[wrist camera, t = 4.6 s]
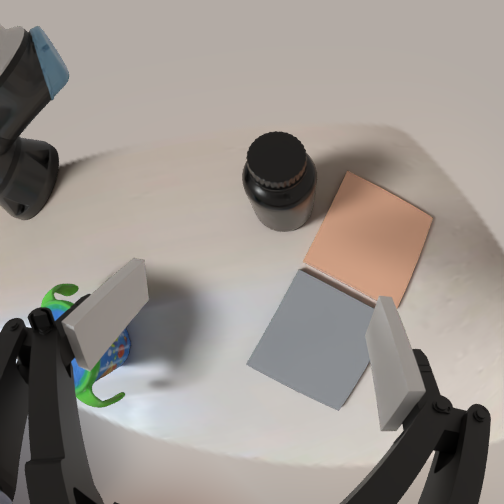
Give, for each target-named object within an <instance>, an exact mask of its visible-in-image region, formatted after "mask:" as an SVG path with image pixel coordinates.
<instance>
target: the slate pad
mask: <svg viewBox="0 0 504 504" xmlns="http://www.w3.org/2000/svg"><path fill="white" fill-rule="evenodd" d="M373 312H374V308H372V307H370V306H368V305H366V304H364V303H362V302H360V301H358V300H357V299H355V298H353V297H351V296H349V295H347V294H345V293H343V292H341V291H339V290H338V289H336V288H334V287H332V286H330V285H328V284H326V283H324V282H322V281H320V280H318V279H317V278H315V277H313V276H311V275H309V274H307V273H305V272H303V271H301V270H298V272H297V274H296V276H295V277H294V279H293V281H292V283H291V285H290V287H289V289H288V291H287V292H286V294H285V296H284V298H283V300H282V302H281V304H280V305H279V307H278V309H277V311H276V313H275V314H274V316H273V318H272V320H271V322H270V323H269V325H268V327H267V329H266V331H265V332H264V334H263V336H262V338H261V339H260V341H259V343H258V345H257V346H256V348H255V350H254V352H253V353H252V355H251V357H250V359H249V360H248V362H247V364H246V365H248V366H250V367H252V368H253V369H255V370H257V371H259V372H261V373H263V374H264V375H266V376H268V377H270V378H272V379H274V380H276V381H278V382H280V383H282V384H284V385H286V386H287V387H289V388H291V389H293V390H295V391H297V392H300V393H302V394H304V395H306V396H308V397H310V398H312V399H314V400H316V401H318V402H320V403H323V404H325V405H327V406H329V407H331V408H334V409H336V410H338V411H339V410H340V408H341V407H342V405H343V404H344V402H345V401H346V399H347V398H348V396H349V394H350V393H351V391H352V390H353V388H354V387H355V385H356V383H357V382H358V380H359V378H360V377H361V375H362V373H363V372H364V370H365V368H366V367H367V365H368V363H369V361H370V358H369V353H368V348H367V343H366V338H365V334H366V332H367V329H368V326H369V323H370V321H371V318H372V315H373Z"/></svg>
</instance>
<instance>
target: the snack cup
mask: <svg viewBox="0 0 504 504" xmlns="http://www.w3.org/2000/svg"><path fill="white" fill-rule="evenodd" d="M77 291H78V286H76V285H74V284H60V285H57V286H55V287H53V288H52V289H51V290H50V291H49V292H48V293H47V294H46V295H45V297H44V298H43V300H42V304H41V307H47V308H49V309H50V310H51V311H52V314H53V317H54V320H55V321H56V320H57V319H58V318H59V317H60V316H61V315H62V314H63V313H64V312H65V311H66V310H68V309H70V307H71V306H72V305H73V303H71V302H69V301H64V300H56V299H55V297H54V293H55V292H56V293H59V294H62V295H64V296H71V295H73V294H74V293H76V292H77ZM130 346H131V343H130V340H129V337H128V332H127V330H126V328H125V329H124V330H123V331H122V333H121V334H120V335H119V336H118V337H117V339H116V340H115V341H114V342H113V344H112V345H111V346H110V347H109V348H108V350H107V351H106V352H105V353H104V355H103V356H102V357H101V358H100V360H99V361H98V362H97V363H96V365H95V366H94V367H93V369H92V370H91V371H88V370H86V369H83V368H81V367H79V366H78V364H77V362H76V359H75V358H74V359H73V360H72V362H71V363H72V366H73V374H74V384H75V393H76V397H77V398H78V399H79V400H80V401H82V402H83V403H85V404H87V405H89V406H92V407H98V408H100V407H106V406H108V405H111V404H113V403H115V402H118V401H119V400H121V399H122V398H123V397H124V396H125V393H124V392H121V393H119V394H117V395H115V396H114V397H112V398H110V399H108V400H105V401H101V400H100V399H99V398H97V397H96V396H95V395H94V394H93V392H92V385H93V383H94V382H95V381H97V380H99V379H100V378H102V377H104V376H106V375H107V374H109V373H110V372H112V371H113V370H115V369H117V368H118V367H120V366H121V365H122V364H123V363H124V362H125V360H126V359H127V357H128V355H129V348H130Z"/></svg>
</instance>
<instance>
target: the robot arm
mask: <svg viewBox="0 0 504 504" xmlns="http://www.w3.org/2000/svg"><path fill="white" fill-rule="evenodd" d="M68 79H69V72H68V70H67V67H66V65H65V63H64V62H63V60H62V58H61V57H60V55H59V53H58V52H57V50H56V49H55V47H54V46H53V44H52V42H51V41H50V39H49V38H48V37H47V35H46V34H45V33H44V31H43V30H42V29H41V28H40V27H39V26H36V27H34V28H32V29H30V31H29V32H27V31H26V30H25V29H23V28H22V27H21V26H17V27H13V28H10V29H5V28H4V27H3V26H1V25H0V206H1V207H3V208H4V209H5V210H6V211H7V212H8V213H9V214H10V215H11V216H13V217H15V218H18V219H21V220H28V219H30V218H32V217H33V216H35V215H36V214H37V213H38V212H39V211H40V210H41V208H42V207H43V206H44V204H45V203H46V201H47V199H48V197H49V195H50V193H51V191H52V189H53V186H54V184H55V181H56V177H57V173H58V167H59V157H58V153H57V150H56V149H55V148H54V147H53V146H51V145H50V144H48V143H47V142H44V141H39V140H33V139H26V138H21V137H19V135H20V134H21V133H22V132H23V131H24V129H25V128H26V127H27V126H28V125H29V124H30V122H31V121H32V120H33V119H34V118H35V117H36V116H37V115H38V113H39V112H40V111H41V110H42V109H43V108H44V107H45V106H46V105H47V104H48V103H49V102H50V100H53V99H54V96H55V95H56V94H57V93H58V92H59V91H60V90H61V89H62V88H63V87H64V86H65V85H66V83H67V82H68ZM148 300H149V295H148V287H147V278H146V268H145V260H143V259H137V258H133V259H132V260H131V261H129V262H128V263H127V264H126V265H125V266H123V267H122V268H121V269H120V270H119V271H118V272H116V273H115V274H114V275H113V276H112V277H111V278H109V279H108V280H107V281H106V282H105V283H104V284H102V285H101V286H100V287H99V288H98V289H97V290H96V291H94V292H93V293H92V294H87V295H85V296H83V297H81V298H80V299H79V300H78V301H77V302H75V304H73V305H72V306H71V307H70V309H68V310H66V311H65V312H64V313H63V314H62V315H61V316H60V317H59V318H58V319H57V320H56V321H55V320H54V317H53V314H52V311H51V310H50V309H49V308H47V307H40V308H37V309H35V310H33V311H32V312H31V313H30V314H29V315H28V320H29V322H30V325H31V327H32V328H28V327H26V326H25V324H24V321H23V320H22V319H20V318H14V319H11V320H9V321H8V322H7V323H6V324H5V325H4V327H3V329H2V331H1V332H0V504H13V503H12V502H13V499H14V495H15V491H16V484H17V476H18V467H19V459H20V452H21V446H22V440H23V434H24V429H25V424H26V419H27V415H28V416H29V417H28V419H29V439H30V451H31V460H30V461H28V462H26V464H25V475H26V482H27V489H28V494H29V500H30V504H104V503H103V500H102V498H101V496H100V494H99V493H98V491H97V489H96V487H95V485H94V482H93V479H92V475H91V472H90V468H89V464H88V460H87V456H86V451H85V447H84V442H83V438H82V432H81V427H80V421H79V415H78V408H77V401H76V393H75V384H74V374H73V366H72V363H71V362H72V360H73V359H74V358H75V359H76V362H77V364H78V366H79V367H81V368H83V369H86V370H88V371H91V370H92V369H93V367H94V366H95V365H96V363H97V362H98V361H99V360H100V358H101V357H102V356H103V355H104V353H105V352H106V351H107V350H108V348H109V347H110V346H111V345H112V344H113V342H114V341H115V340H116V339H117V337H118V336H119V335H120V334H121V333H122V331H123V330H124V329H125V328H126V327H127V325H128V324H129V323H130V322H131V321H132V319H133V318H134V317H135V316H136V315H137V313H138V312H139V311H140V310H141V309H142V307H143V306H144V305H145V304H146V303H147V302H148ZM365 338H366V343H367V348H368V353H369V358H370V364H371V369H372V375H373V381H374V387H375V393H376V400H377V407H378V414H379V422H380V430H381V431H397V429H398V428H399V427H400V426H401V424H403V430H404V431H403V432H402V433H401V435H400V436H399V437H398V438H397V439H396V440H395V441H394V444H393V445H392V446H391V448H390V449H389V450H388V452H387V453H386V454H385V455H384V456H383V458H382V459H381V460H380V461H379V463H378V464H377V465H376V466H375V467H374V468H373V470H372V471H371V472H370V473H369V474H368V475H367V476H366V478H364V480H363V481H362V482H361V483H360V484H359V485H358V486H357V487H356V488H355V489H354V490H353V491H352V492H351V493H350V494H349V495H348V496H347V497H346V498H345V499H344V500H343V501H342V502H341V503H340V504H397V503H398V502H399V500H400V499H401V498H402V496H403V495H404V493H405V492H406V491H407V490H408V488H409V487H410V485H411V484H412V482H413V481H414V479H415V478H416V477H417V475H418V473H419V472H420V471H421V469H422V467H423V466H424V464H425V463H426V461H427V459H428V458H429V456H430V455H431V453H432V451H433V450H434V451H435V455H434V458H433V461H432V465H431V468H430V471H429V474H428V477H427V480H426V483H425V486H424V489H423V492H422V494H421V497H420V499H419V502H418V504H478V502H479V498H480V494H481V490H482V484H483V479H484V474H485V468H486V461H487V454H488V446H489V436H490V422H491V418H490V413H489V411H488V410H487V409H486V408H485V407H484V406H482V405H480V404H474V405H472V406H471V407H470V408H469V409H468V410H467V411H465V410H461V409H456V408H453V406H452V404H451V402H450V400H448V399H447V398H446V397H444V396H442V395H440V392H439V389H438V386H437V383H436V381H435V378H434V375H433V373H432V369H431V367H430V364H429V361H428V359H427V357H426V355H425V354H424V353H423V352H422V351H421V350H420V349H412V348H411V345H410V342H409V339H408V337H407V334H406V331H405V329H404V326H403V324H402V321H401V318H400V316H399V313H398V311H397V309H396V306H395V304H394V301H393V299H392V297H387V296H379V297H378V300H377V303H376V306H375V309H374V312H373V315H372V318H371V321H370V323H369V326H368V329H367V332H366V334H365ZM16 359H18V361H17V363H16ZM114 504H118V503H116V502H114Z"/></svg>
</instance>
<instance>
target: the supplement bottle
mask: <svg viewBox="0 0 504 504" xmlns="http://www.w3.org/2000/svg"><path fill="white" fill-rule="evenodd" d="M246 159H247V161H246V163H245V166H244V169H243V173H242V181H243V186H244V189H245V192H246V194H247V196H248V198H249V200H250V202H251V205H252V207H253V209H254V211H255V213H256V215H257V217H258V218H259V220H260V221H261V222H262V223H263V224H264V225H265V226H266V227H268V228H270V229H272V230H275V231H280V232H287V231H292V230H295V229H297V228H299V227H301V226H302V225H303V224H304V223H305V222H306V221H307V220H308V218H309V217H310V215H311V212H312V209H313V204H314V197H315V191H316V184H317V171H316V167H315V164H314V162H313V161H312V159H311V158H310V156H309V155H308V154H307V153H306V150H305V149H304V145H303V144H301V141H299V140H298V139H297V138H296V137H294V136H293V135H291V134H288V133H284V132H276V131H275V132H269V133H266V134H264V135H262V136H259V138H257V139H255V141H254V142H253V143H252V144H251V146H250V147H249V151H248V152H247V157H246Z"/></svg>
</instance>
